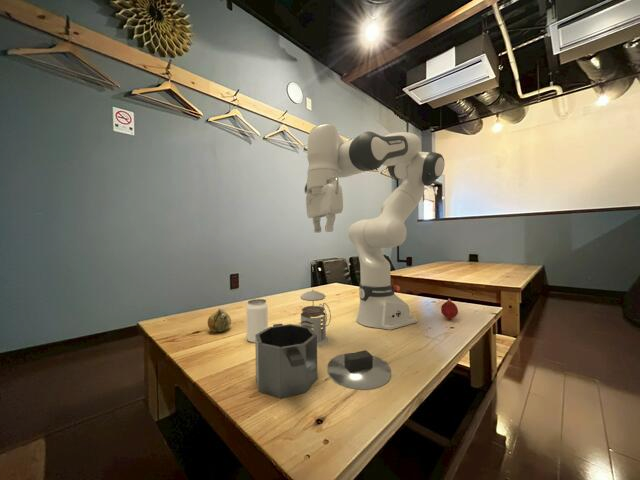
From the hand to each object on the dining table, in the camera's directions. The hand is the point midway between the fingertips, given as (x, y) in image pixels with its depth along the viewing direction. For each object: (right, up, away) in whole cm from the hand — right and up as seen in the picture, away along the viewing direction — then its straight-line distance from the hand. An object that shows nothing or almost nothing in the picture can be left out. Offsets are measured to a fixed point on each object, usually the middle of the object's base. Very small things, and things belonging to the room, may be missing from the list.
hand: (323, 232), depth 71 cm
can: (-21, -34, +8) cm, 41 cm away
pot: (-9, -34, -14) cm, 37 cm away
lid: (+8, -34, -11) cm, 37 cm away
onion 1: (-36, -34, +16) cm, 52 cm away
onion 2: (+49, -33, +25) cm, 64 cm away
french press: (-2, -34, +7) cm, 34 cm away
